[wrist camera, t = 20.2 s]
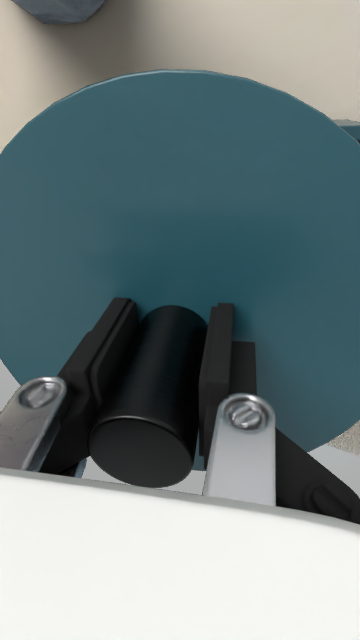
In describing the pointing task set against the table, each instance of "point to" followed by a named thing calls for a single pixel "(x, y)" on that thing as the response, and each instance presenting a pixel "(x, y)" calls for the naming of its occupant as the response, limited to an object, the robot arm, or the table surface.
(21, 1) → the moka pot
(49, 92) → the table surface
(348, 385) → the lid
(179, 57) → the table surface
